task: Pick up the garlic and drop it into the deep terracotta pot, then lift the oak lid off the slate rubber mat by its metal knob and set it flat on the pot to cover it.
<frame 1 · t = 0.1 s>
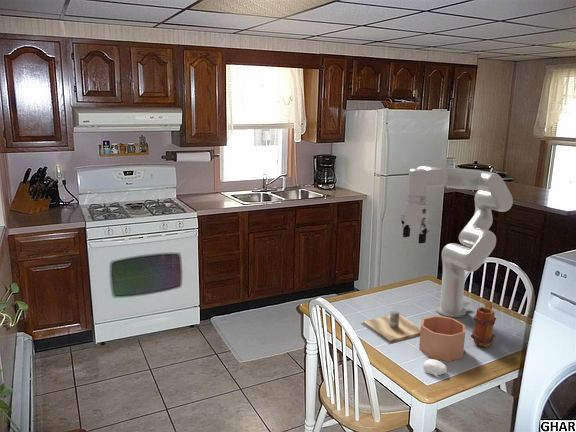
hand: (413, 239, 193), 37 cm above the table, tool pointing down, fingers open, 9 cm apart
lid: (393, 328, 194), resting on mat
bowl: (440, 349, 179), on the table
mug: (483, 341, 185), on the table
garlic: (435, 372, 164), on the table
mat: (393, 329, 195), on the table
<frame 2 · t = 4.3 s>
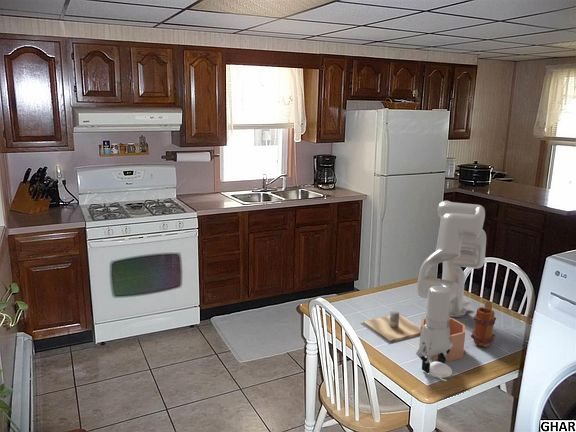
hand: (433, 368, 164), 1 cm above the table, tool pointing down, fingers closed on garlic, 6 cm apart
garlic: (439, 374, 162), on the table, touching gripper
everything else where it was.
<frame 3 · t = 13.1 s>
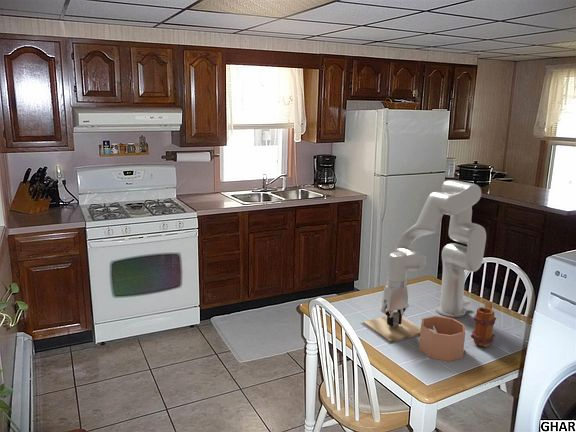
hand: (394, 323, 194), 2 cm above the table, tool pointing down, fingers closed on lid, 3 cm apart
lid: (393, 328, 194), resting on mat, touching gripper
garlic: (436, 337, 176), point 6 cm above the table, touching bowl
everything else where it was.
when the fingers open (13 cm above the table, at t = 18.1 s): lid drops 1 cm, resting on bowl.
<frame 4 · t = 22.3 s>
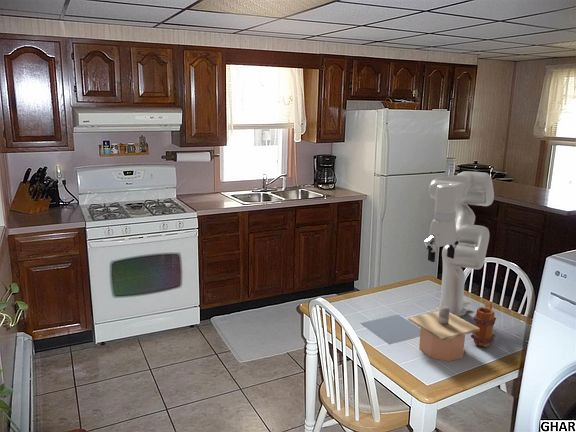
hand: (440, 259, 182), 32 cm above the table, tool pointing down, fingers open, 9 cm apart
lid: (443, 325, 176), point 10 cm above the table, touching bowl
everything else where it was.
at the end: garlic inside the target area on the bowl (2.6 cm from its centre), point 5.7 cm above the bowl's base; lid 0.1 cm off-centre on the bowl, point 10.0 cm above the bowl's base; lid tilted 0° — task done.
